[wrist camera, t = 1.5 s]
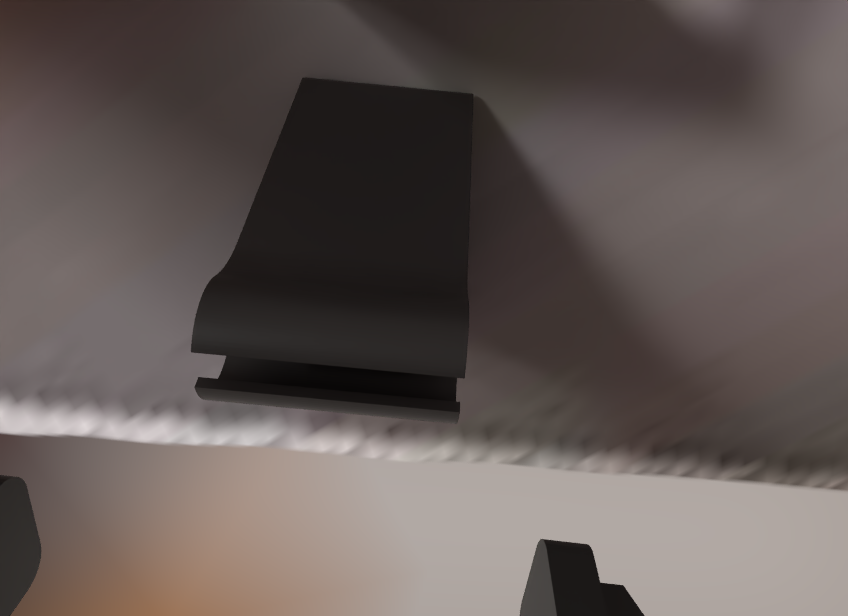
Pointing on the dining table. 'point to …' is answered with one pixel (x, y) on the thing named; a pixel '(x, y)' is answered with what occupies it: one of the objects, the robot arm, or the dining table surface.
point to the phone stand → (351, 260)
